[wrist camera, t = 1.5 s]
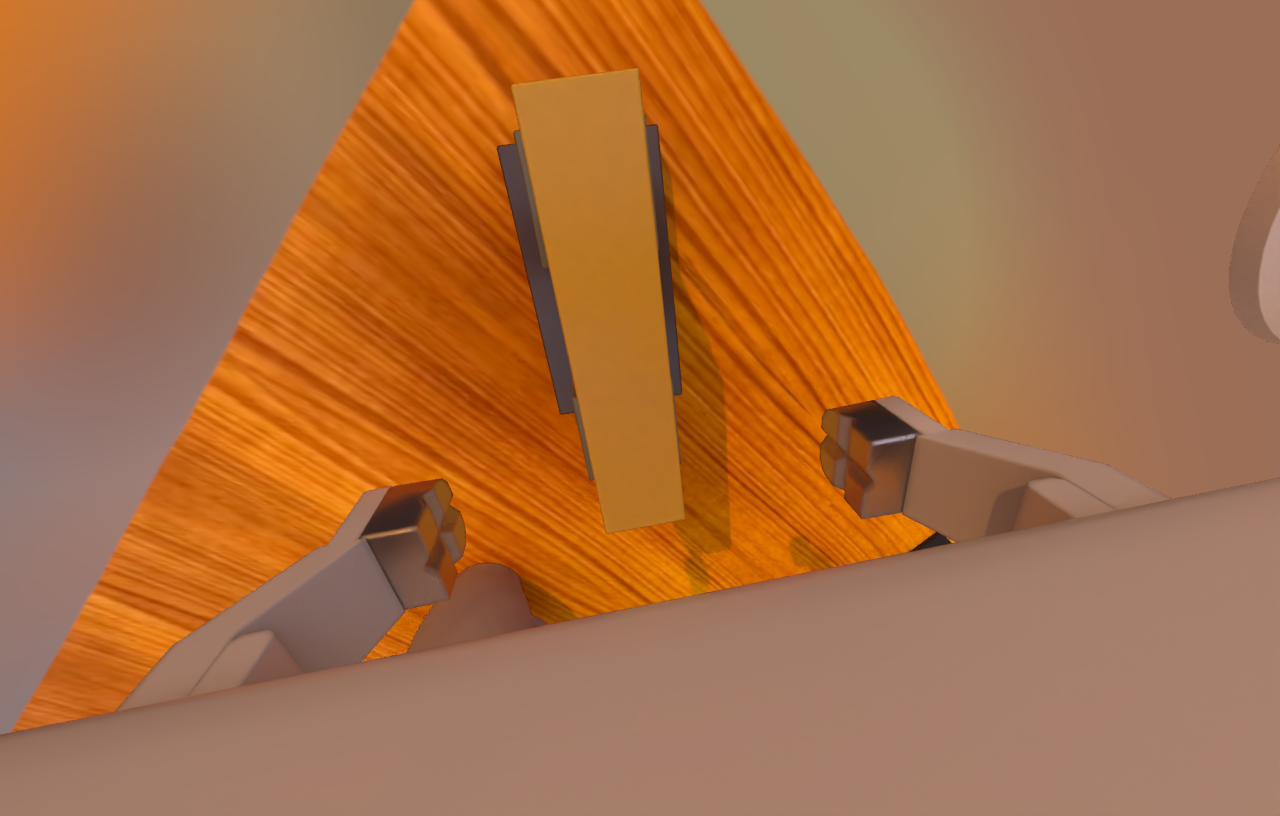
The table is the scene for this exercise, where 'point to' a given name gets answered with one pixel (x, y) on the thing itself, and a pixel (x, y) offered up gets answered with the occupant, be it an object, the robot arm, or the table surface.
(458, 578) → the mug
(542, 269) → the tower
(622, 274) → the bar
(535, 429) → the table surface
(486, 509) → the table surface
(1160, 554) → the robot arm
